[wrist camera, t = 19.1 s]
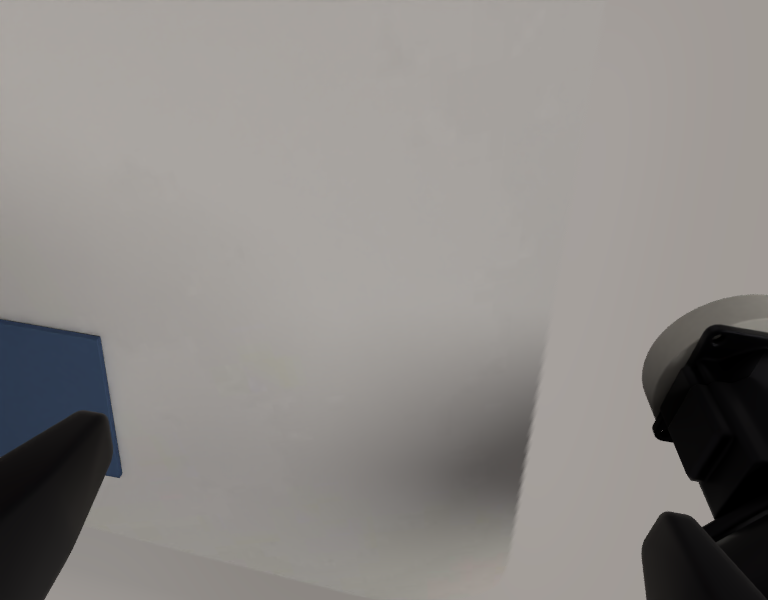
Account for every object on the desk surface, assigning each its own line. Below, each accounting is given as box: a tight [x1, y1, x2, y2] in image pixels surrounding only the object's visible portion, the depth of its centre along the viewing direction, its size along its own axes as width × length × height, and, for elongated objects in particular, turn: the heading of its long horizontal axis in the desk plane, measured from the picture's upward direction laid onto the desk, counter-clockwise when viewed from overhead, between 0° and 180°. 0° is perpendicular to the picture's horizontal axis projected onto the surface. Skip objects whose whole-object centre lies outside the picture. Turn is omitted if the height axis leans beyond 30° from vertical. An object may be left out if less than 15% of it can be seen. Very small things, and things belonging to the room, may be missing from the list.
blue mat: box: [0, 319, 122, 478], centre depth 28 cm, size 9×9×1 cm
